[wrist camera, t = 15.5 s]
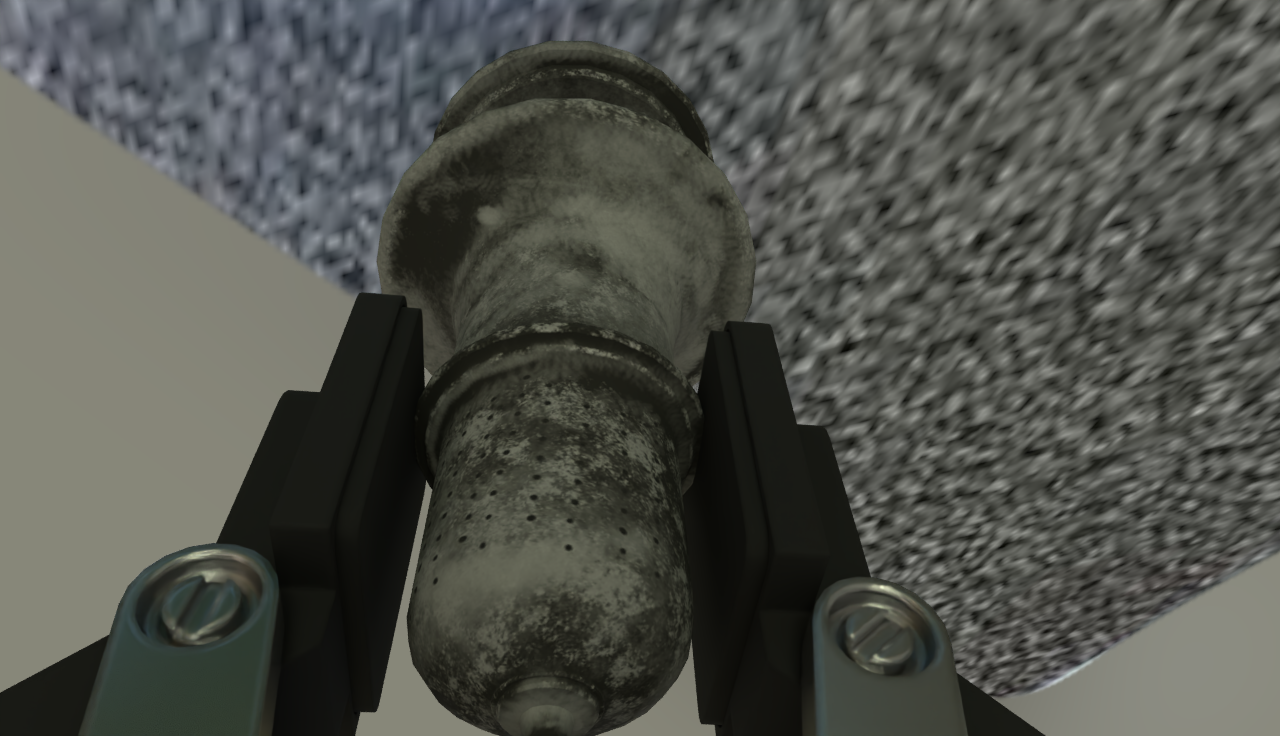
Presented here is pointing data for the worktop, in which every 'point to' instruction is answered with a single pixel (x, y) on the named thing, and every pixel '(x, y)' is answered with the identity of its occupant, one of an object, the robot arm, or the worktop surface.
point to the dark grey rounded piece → (561, 382)
